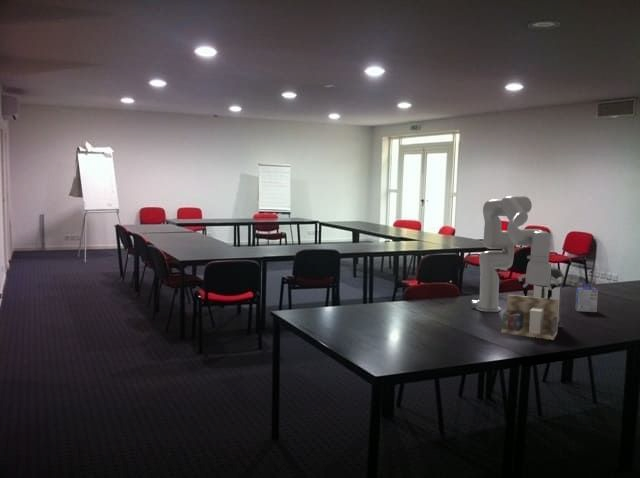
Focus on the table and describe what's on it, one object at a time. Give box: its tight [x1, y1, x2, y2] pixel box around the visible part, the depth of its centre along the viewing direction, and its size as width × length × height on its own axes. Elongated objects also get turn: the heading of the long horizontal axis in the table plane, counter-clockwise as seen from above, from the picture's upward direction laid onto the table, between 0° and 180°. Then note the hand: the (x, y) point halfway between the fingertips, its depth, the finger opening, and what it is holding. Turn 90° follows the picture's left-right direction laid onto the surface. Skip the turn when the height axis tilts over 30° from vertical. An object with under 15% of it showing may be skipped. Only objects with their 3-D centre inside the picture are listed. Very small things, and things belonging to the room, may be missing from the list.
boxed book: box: [529, 307, 544, 334], centre depth 242 cm, size 4×8×10 cm, turn 149°
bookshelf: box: [500, 294, 559, 341], centre depth 244 cm, size 22×12×16 cm, turn 59°
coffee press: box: [532, 263, 564, 328], centre depth 260 cm, size 17×16×30 cm
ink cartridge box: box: [574, 283, 599, 313], centre depth 288 cm, size 10×6×14 cm, turn 78°
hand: (537, 297), depth 242 cm, fingers open, 9 cm apart
